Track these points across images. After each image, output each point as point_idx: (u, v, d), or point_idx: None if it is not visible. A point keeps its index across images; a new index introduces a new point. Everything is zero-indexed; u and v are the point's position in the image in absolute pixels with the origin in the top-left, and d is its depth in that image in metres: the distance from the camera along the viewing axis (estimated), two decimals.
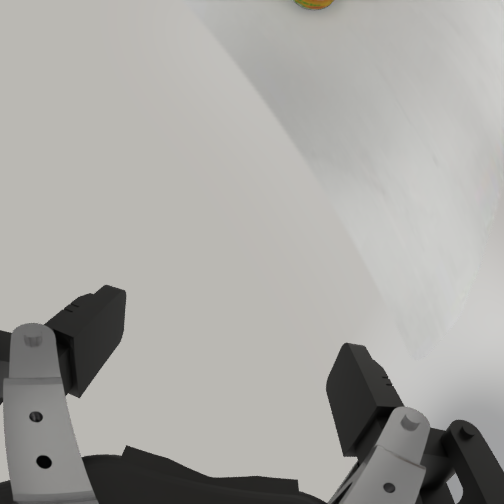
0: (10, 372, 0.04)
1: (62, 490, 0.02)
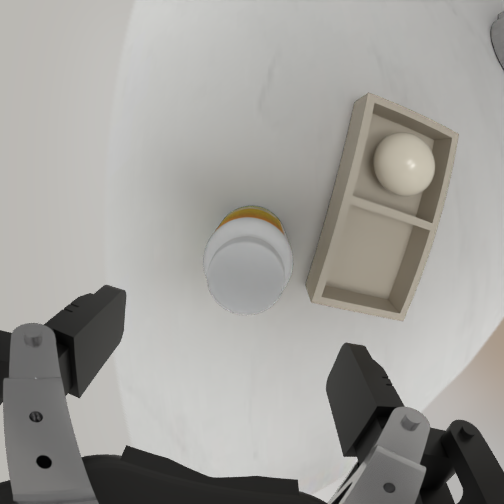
0: (10, 372, 0.04)
1: (62, 490, 0.02)
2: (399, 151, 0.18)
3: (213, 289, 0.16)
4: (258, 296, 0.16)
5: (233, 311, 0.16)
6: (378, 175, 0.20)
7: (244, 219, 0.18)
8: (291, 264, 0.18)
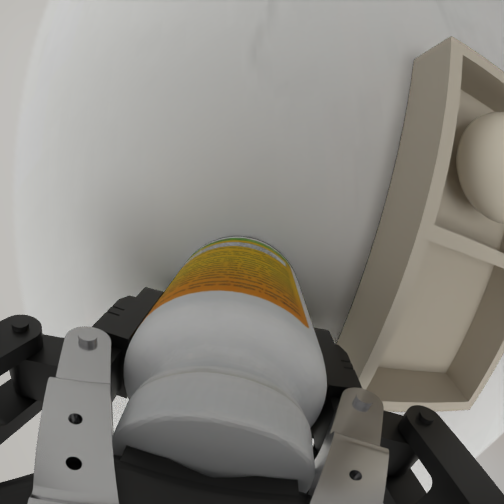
0: (58, 371, 0.05)
1: (62, 490, 0.02)
2: None
3: None
4: None
5: None
6: (472, 185, 0.09)
7: (209, 300, 0.07)
8: (323, 398, 0.07)
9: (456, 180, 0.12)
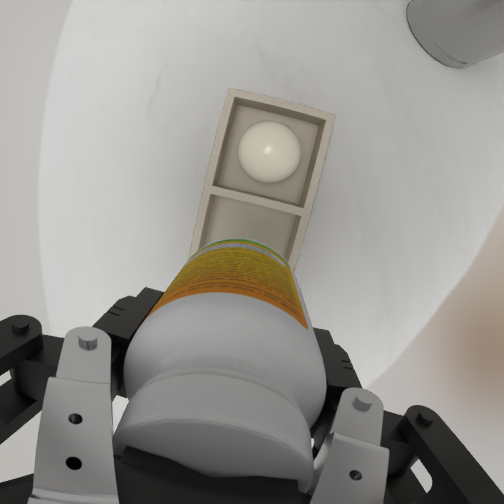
0: (58, 372, 0.05)
1: (62, 490, 0.02)
2: (251, 139, 0.20)
3: None
4: None
5: None
6: (240, 164, 0.22)
7: (208, 302, 0.07)
8: (323, 399, 0.07)
9: None
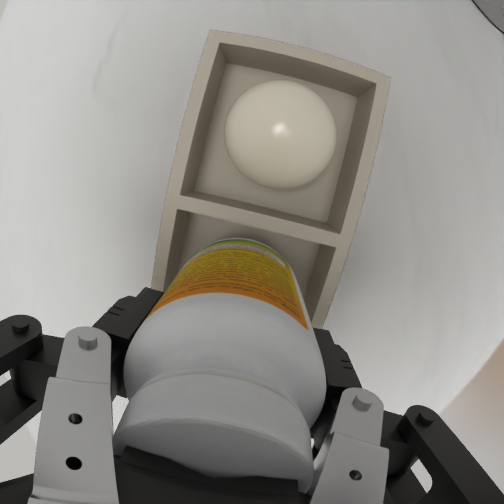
0: (58, 371, 0.05)
1: (62, 490, 0.02)
2: (248, 108, 0.10)
3: None
4: None
5: None
6: (229, 157, 0.13)
7: (208, 302, 0.07)
8: (323, 399, 0.07)
9: None
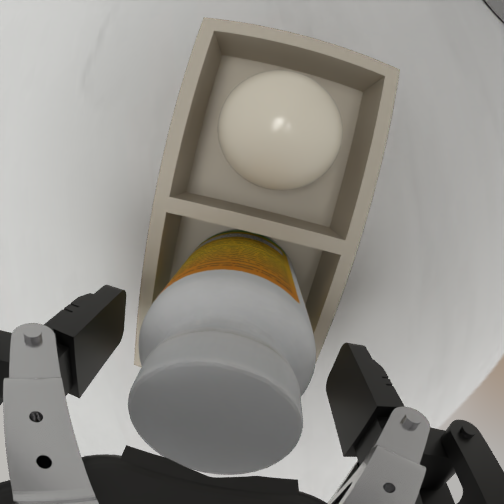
0: (10, 372, 0.04)
1: (62, 490, 0.02)
2: (244, 100, 0.09)
3: (146, 435, 0.06)
4: (243, 454, 0.06)
5: (193, 468, 0.06)
6: None
7: (214, 276, 0.08)
8: (313, 365, 0.08)
9: None
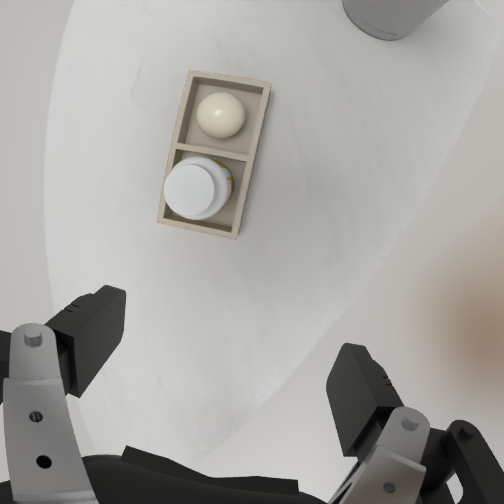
0: (10, 372, 0.04)
1: (62, 490, 0.02)
2: (203, 104, 0.26)
3: (168, 198, 0.23)
4: (197, 201, 0.23)
5: (181, 213, 0.23)
6: None
7: (192, 157, 0.24)
8: (225, 185, 0.25)
9: None
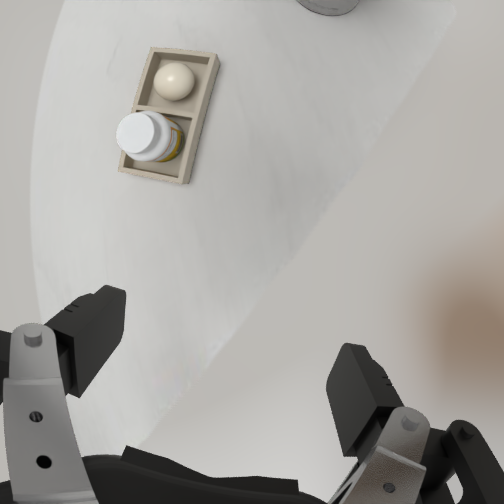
0: (10, 372, 0.04)
1: (62, 490, 0.02)
2: (158, 72, 0.29)
3: (118, 139, 0.26)
4: (140, 140, 0.26)
5: (128, 151, 0.26)
6: None
7: (143, 111, 0.27)
8: (167, 131, 0.28)
9: None
